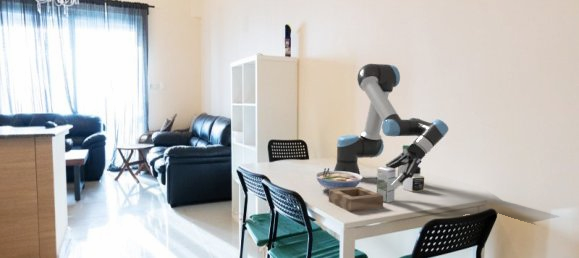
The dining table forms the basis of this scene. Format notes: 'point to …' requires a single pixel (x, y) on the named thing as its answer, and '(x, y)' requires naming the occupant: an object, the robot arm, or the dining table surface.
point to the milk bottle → (402, 167)
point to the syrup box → (386, 183)
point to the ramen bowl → (338, 179)
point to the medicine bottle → (414, 182)
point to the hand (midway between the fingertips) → (385, 183)
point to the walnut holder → (355, 199)
